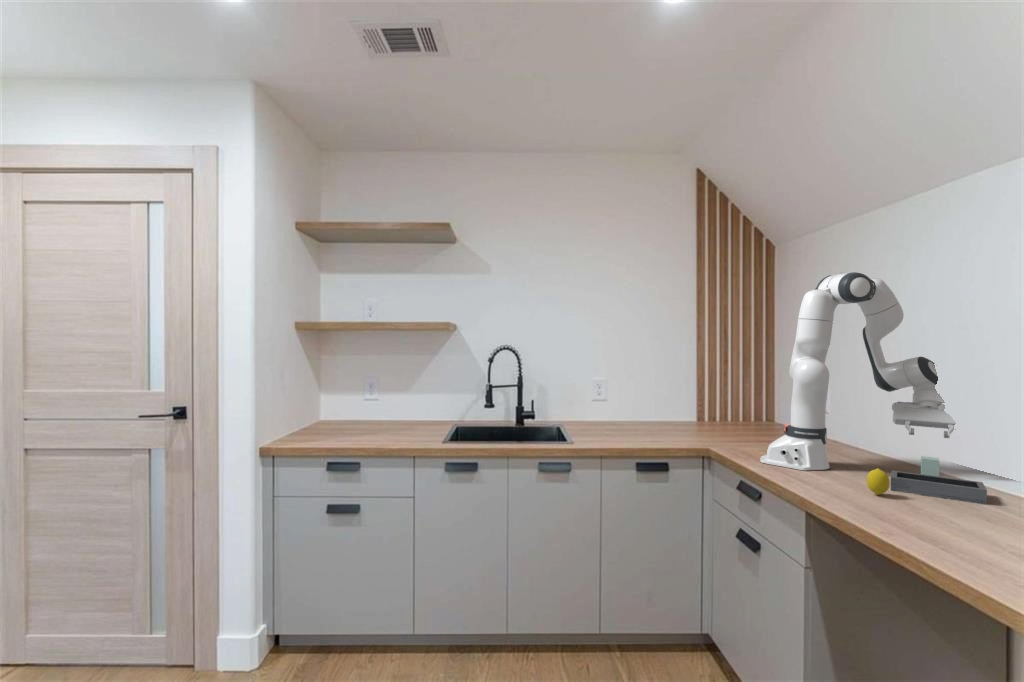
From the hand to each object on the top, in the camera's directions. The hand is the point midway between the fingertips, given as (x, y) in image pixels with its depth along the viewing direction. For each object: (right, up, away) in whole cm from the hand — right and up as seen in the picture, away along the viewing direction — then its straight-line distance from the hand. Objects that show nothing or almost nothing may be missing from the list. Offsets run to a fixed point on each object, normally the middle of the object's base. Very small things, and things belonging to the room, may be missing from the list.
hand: (928, 435), depth 180 cm
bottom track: (-14, -14, -20) cm, 28 cm away
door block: (-7, -14, -9) cm, 18 cm away
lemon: (-33, -14, -23) cm, 43 cm away
